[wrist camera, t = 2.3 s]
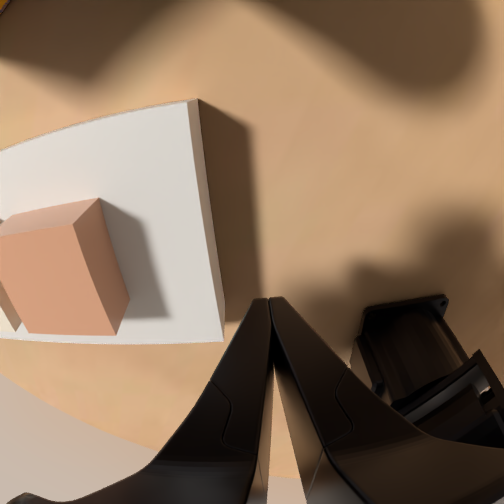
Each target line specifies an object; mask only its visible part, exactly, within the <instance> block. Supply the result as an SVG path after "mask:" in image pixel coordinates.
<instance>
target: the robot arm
mask: <svg viewBox="0 0 504 504" xmlns="http://www.w3.org/2000/svg"><path fill="white" fill-rule="evenodd" d="M448 302H449V300H448V298H447V297H446V295H444V294H441V295H436V296H431V297H425V298H419V299H413V300H407V301H401V302H395V303H389V304H382V305H375V306H370V307H367V308H366V309H365V310H364V311H363V314H362V319H361V324H360V329H359V334H358V336H357V337H356V338H355V340H354V345H353V350H352V354H351V359H350V364H351V369H350V368H347V365H346V364H345V363H344V362H343V361H342V360H341V359H340V357H339V356H338V355H337V354H336V353H335V352H334V351H333V350H332V349H331V348H330V347H329V346H328V345H327V343H326V342H325V341H324V340H323V339H322V338H321V337H320V336H319V335H318V334H317V333H316V332H315V331H314V329H313V328H312V327H311V326H310V325H309V324H308V323H307V322H306V321H305V320H304V319H303V318H302V317H301V315H300V314H299V313H298V312H297V311H296V310H295V309H294V308H293V307H292V306H291V305H290V304H289V302H288V301H287V300H286V299H285V298H284V297H282V296H279V297H270V298H269V301H268V299H267V298H256V299H254V300H253V301H252V303H251V305H250V306H249V308H248V310H247V312H246V314H245V316H244V318H243V320H242V321H241V323H240V325H239V327H238V329H237V331H236V333H235V334H234V336H233V338H232V340H231V342H230V344H229V345H228V347H227V349H226V351H225V353H224V355H223V357H222V358H221V360H220V362H219V364H218V366H217V367H216V369H215V371H214V373H213V375H212V377H211V378H210V381H209V382H208V384H207V385H206V387H205V389H204V391H203V393H202V394H201V396H200V397H199V399H198V401H197V402H196V404H195V406H194V407H193V408H192V410H191V411H190V413H189V414H188V415H187V417H186V418H185V420H184V421H183V422H182V424H181V425H180V426H179V427H178V429H177V430H176V431H175V433H174V434H173V435H172V436H171V438H170V439H169V440H168V441H167V443H166V444H165V445H164V446H163V448H162V449H161V450H160V451H159V453H158V454H157V455H156V456H155V458H154V459H153V460H152V461H151V462H150V463H149V464H148V465H147V466H145V467H144V468H143V469H141V470H140V471H138V472H137V473H135V474H133V475H131V476H129V477H127V478H125V479H123V480H120V481H118V482H116V483H114V484H112V485H110V486H107V487H105V488H103V489H101V490H99V491H96V492H94V493H92V494H89V495H87V496H84V497H82V498H79V499H76V500H73V501H66V502H55V501H51V500H47V499H44V498H42V497H40V496H37V495H34V494H31V493H23V494H21V495H19V496H17V497H15V498H13V499H12V500H10V501H9V502H8V503H7V504H267V491H268V476H269V461H270V445H271V427H272V408H273V387H274V369H275V375H276V379H277V383H278V388H279V392H280V396H281V400H282V404H283V408H284V412H285V416H286V421H287V425H288V429H289V433H290V437H291V441H292V445H293V449H294V453H295V457H296V461H297V465H298V469H299V473H300V478H301V482H302V486H303V489H304V493H305V498H306V500H307V504H504V388H503V386H502V385H501V383H500V381H499V380H498V378H497V376H496V375H495V373H494V371H493V370H492V368H491V367H490V365H489V363H488V362H487V360H486V359H485V357H484V356H483V354H482V353H481V351H480V349H478V350H477V351H476V352H475V353H474V354H472V357H471V358H470V359H469V358H468V356H467V354H466V353H465V351H464V350H463V348H462V346H461V345H460V343H459V342H458V340H457V338H456V337H455V335H454V334H453V332H452V331H451V329H450V328H449V326H448V325H447V323H446V322H445V320H444V319H443V316H444V314H445V311H446V308H447V305H448ZM370 314H371V315H370ZM489 385H490V387H491V388H490V389H489V390H488V391H484V392H482V391H483V390H484V389H486V388H487V387H488V386H489ZM481 392H482V393H481ZM480 393H481V394H480Z"/></svg>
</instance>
